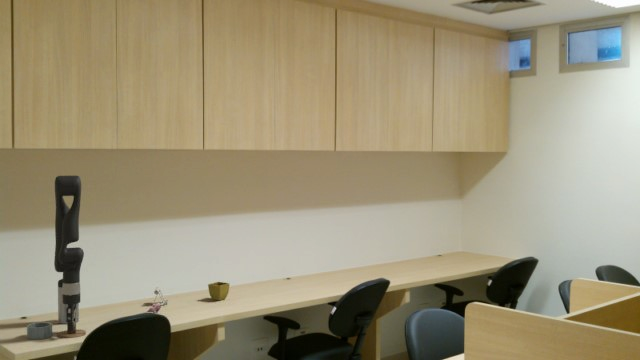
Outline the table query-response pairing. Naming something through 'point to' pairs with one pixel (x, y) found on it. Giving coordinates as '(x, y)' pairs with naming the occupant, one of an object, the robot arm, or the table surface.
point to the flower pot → (218, 290)
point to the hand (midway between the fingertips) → (71, 328)
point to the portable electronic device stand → (160, 295)
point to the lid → (71, 332)
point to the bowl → (39, 330)
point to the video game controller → (154, 308)
